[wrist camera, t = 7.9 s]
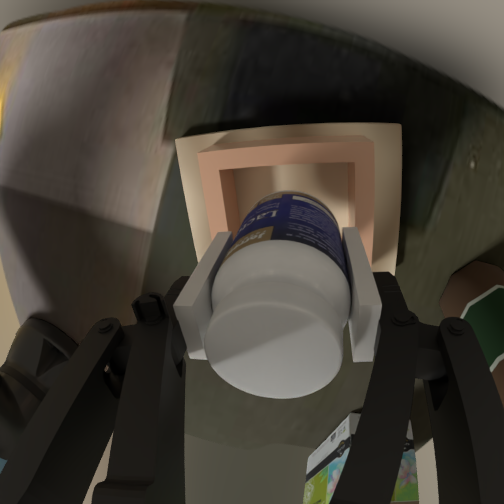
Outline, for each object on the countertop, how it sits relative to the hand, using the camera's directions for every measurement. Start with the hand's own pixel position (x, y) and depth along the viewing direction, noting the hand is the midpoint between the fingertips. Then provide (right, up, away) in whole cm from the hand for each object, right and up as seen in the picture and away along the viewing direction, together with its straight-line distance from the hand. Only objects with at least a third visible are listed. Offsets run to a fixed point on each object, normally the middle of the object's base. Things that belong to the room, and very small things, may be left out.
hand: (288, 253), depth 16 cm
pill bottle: (0, +1, +2) cm, 3 cm away
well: (+1, +3, +6) cm, 7 cm away
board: (+1, +4, +7) cm, 8 cm away
